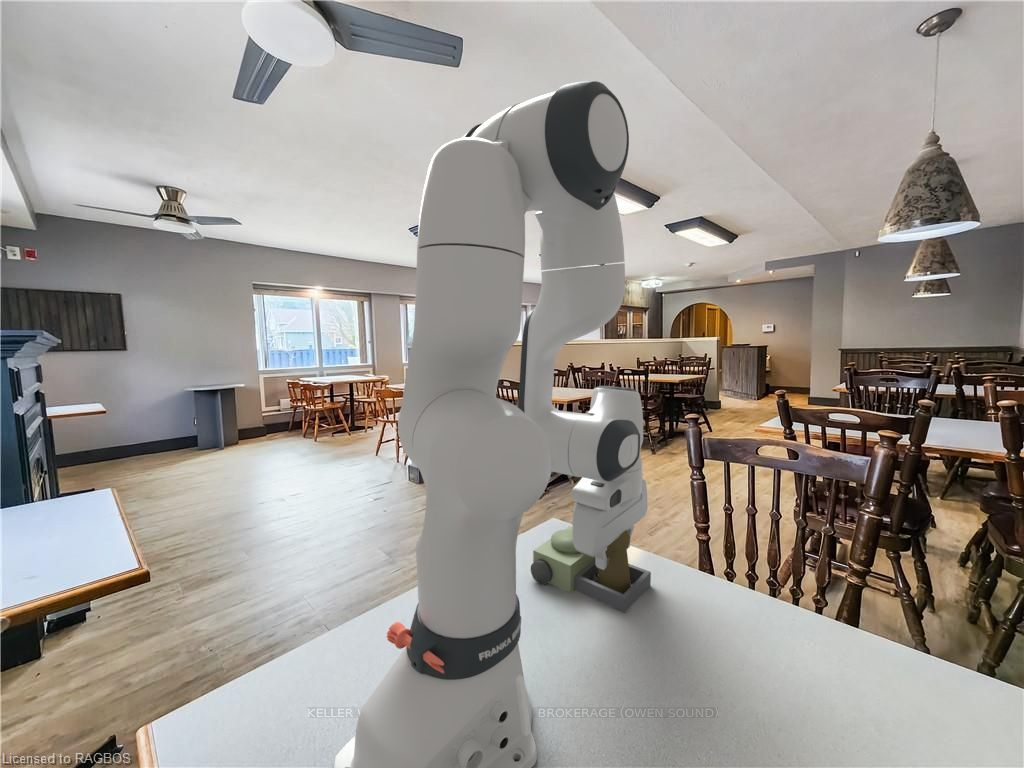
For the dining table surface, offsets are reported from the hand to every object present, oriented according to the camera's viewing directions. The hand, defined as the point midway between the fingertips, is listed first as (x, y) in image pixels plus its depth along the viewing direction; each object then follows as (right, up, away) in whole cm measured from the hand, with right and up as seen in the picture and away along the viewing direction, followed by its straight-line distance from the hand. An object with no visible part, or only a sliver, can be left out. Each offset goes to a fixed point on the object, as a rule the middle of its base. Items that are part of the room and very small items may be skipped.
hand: (613, 557), depth 74 cm
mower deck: (-3, -5, +3) cm, 7 cm away
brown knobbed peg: (0, -6, +1) cm, 6 cm away
